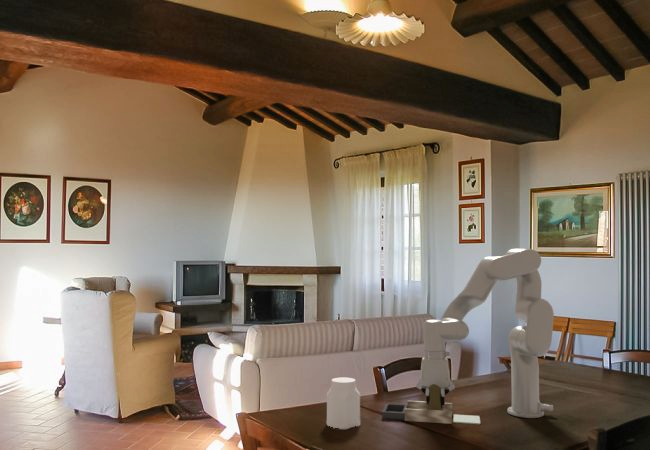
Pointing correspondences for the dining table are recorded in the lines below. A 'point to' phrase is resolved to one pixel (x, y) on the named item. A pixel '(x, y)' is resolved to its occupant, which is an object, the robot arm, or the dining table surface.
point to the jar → (343, 404)
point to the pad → (466, 419)
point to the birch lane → (428, 413)
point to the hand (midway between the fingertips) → (435, 406)
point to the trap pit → (394, 411)
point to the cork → (434, 398)
